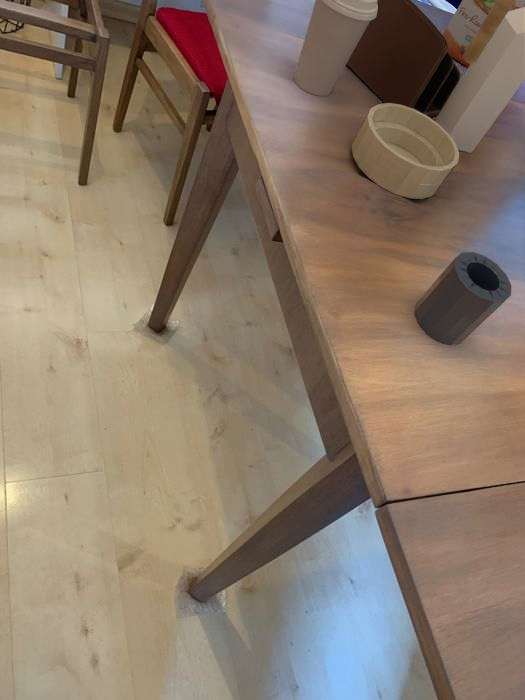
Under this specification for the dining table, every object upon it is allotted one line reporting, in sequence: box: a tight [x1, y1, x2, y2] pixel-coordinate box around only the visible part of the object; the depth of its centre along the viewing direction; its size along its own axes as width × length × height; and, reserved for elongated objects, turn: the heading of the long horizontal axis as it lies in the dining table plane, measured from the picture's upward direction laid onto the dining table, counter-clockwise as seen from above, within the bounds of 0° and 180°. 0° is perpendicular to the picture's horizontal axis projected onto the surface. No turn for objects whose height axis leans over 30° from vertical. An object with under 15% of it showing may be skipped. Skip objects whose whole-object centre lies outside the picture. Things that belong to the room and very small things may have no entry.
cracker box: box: [442, 0, 525, 68], centre depth 107 cm, size 14×6×21 cm, turn 55°
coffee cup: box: [293, 0, 378, 97], centre depth 85 cm, size 10×10×15 cm
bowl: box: [351, 102, 460, 200], centre depth 81 cm, size 14×14×6 cm
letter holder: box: [345, 0, 462, 118], centre depth 93 cm, size 10×20×14 cm, turn 36°
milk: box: [434, 7, 525, 154], centre depth 86 cm, size 6×6×22 cm
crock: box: [414, 251, 512, 346], centre depth 64 cm, size 7×7×9 cm
